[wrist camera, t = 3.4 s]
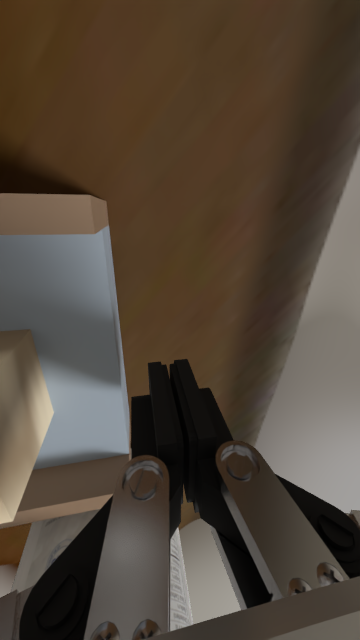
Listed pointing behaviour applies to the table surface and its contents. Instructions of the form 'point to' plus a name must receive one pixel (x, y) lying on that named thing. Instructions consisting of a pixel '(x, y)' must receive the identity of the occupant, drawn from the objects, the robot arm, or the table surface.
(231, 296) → the table surface
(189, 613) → the supplement tub
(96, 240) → the box
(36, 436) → the maple block
